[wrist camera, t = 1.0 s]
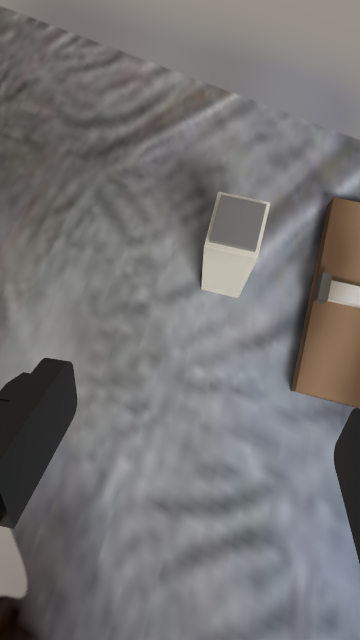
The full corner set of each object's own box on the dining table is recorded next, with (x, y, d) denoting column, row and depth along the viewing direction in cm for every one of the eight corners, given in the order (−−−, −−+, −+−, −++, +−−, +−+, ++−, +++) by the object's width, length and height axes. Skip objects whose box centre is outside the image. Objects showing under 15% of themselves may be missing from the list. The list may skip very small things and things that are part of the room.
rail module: (201, 289, 32) (204, 244, 22) (212, 247, 33) (219, 184, 23) (238, 298, 32) (258, 256, 21) (248, 255, 32) (272, 196, 22)
